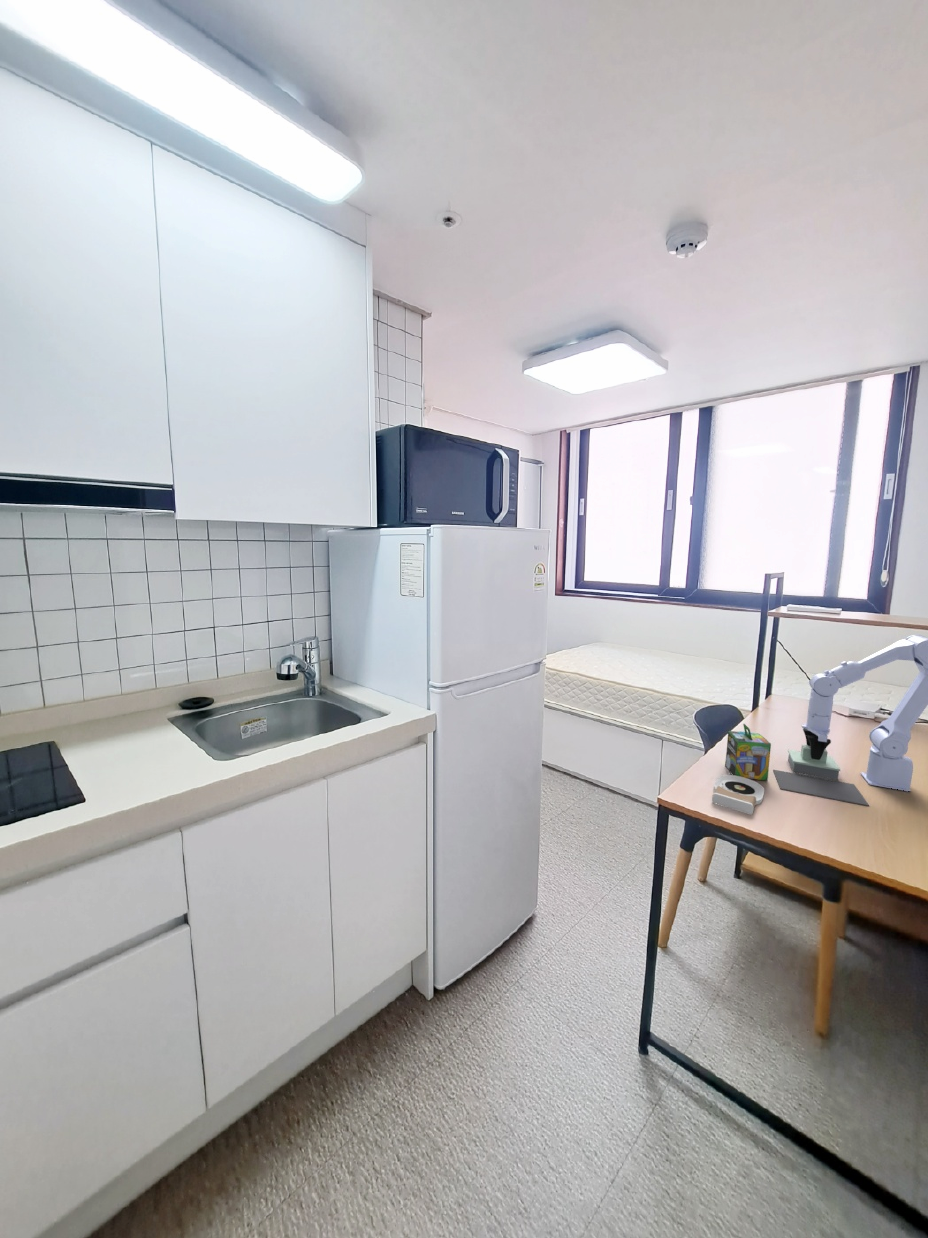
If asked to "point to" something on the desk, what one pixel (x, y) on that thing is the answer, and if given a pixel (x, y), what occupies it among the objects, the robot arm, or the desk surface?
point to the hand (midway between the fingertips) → (813, 756)
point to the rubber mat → (819, 787)
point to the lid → (806, 759)
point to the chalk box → (748, 754)
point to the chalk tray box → (813, 770)
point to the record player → (737, 793)
